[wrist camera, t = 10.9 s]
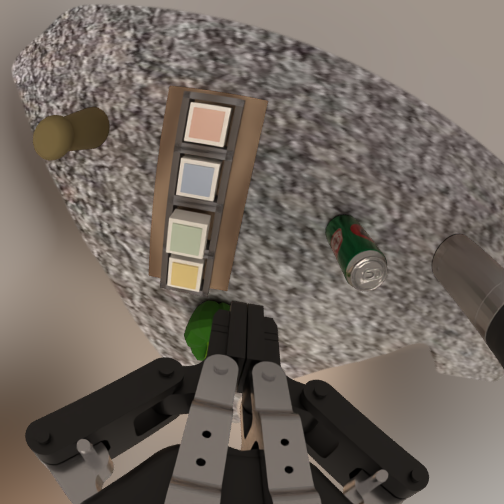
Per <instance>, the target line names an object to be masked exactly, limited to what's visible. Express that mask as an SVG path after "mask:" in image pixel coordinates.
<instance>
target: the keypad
mask: <svg viewBox="0 0 504 504" xmlns="http://www.w3.org/2000/svg"><path fill="white" fill-rule="evenodd" d="M191 102H197V103H204V104H211V105H217V106H223V107H229V108H233V111H232V115H231V120H230V125H229V130H228V135H227V140H226V144H225V145H224V147H220V146H214V145H208V144H202V143H196V142H189V141H184V138H185V132H186V126H187V120H188V115H189V109H190V104H191ZM267 104H268V101H266V100H261V99H256V98H251V97H246V96H240V95H235V94H229V93H223V92H216V91H210V90H203V89H195V88H187V87H178V86H170V87H169V93H168V98H167V103H166V109H165V115H164V121H163V127H162V134H161V141H160V148H159V155H158V163H157V171H156V180H155V190H154V200H153V211H152V224H151V238H150V256H149V276H153V277H158V278H161V281H160V288H165V289H170V290H174V291H179V292H184V293H189V294H194V295H199V296H205V297H208V293H209V288H213V289H218V290H224V291H227V289H228V284H229V279H230V274H231V269H232V265H233V260H234V255H235V250H236V245H237V240H238V236H239V231H240V226H241V222H242V217H243V212H244V207H245V203H246V198H247V194H248V189H249V184H250V180H251V175H252V171H253V166H254V161H255V157H256V152H257V148H258V143H259V139H260V135H261V130H262V126H263V121H264V117H265V112H266V108H267ZM186 154H191V155H197V156H203V157H209V158H215V159H220V160H222V165H221V171H220V176H219V181H218V187H217V193H216V196H215V198H214V201H208V200H203V199H197V198H192V197H186V196H180V195H176V192H177V184H178V177H179V170H180V163H181V158H182V157H183V156H185V155H186ZM175 209H179V210H185V211H190V212H196V213H201V214H206V215H211V220H210V226H209V232H208V238H207V244H206V249H205V252H204V256H203V258H206V259H205V265H204V272H203V278H202V283H201V287H200V290H199V292H196V291H191V290H186V289H181V288H176V287H171V286H167V283H168V270H169V258H170V256H171V254H172V253H167V252H166V246H167V235H168V225H169V217H170V216H171V215H172V213H173V212H174V210H175Z"/></svg>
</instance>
